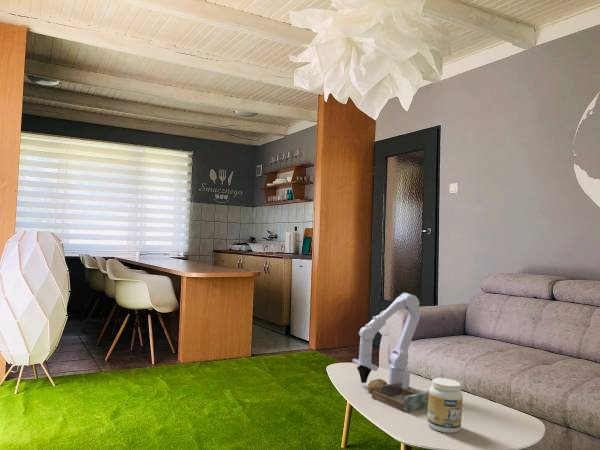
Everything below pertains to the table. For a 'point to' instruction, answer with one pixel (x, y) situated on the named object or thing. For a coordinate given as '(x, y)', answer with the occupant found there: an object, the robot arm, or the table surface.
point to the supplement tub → (445, 405)
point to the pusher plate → (391, 389)
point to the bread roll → (376, 385)
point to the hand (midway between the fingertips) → (363, 382)
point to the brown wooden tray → (405, 400)
